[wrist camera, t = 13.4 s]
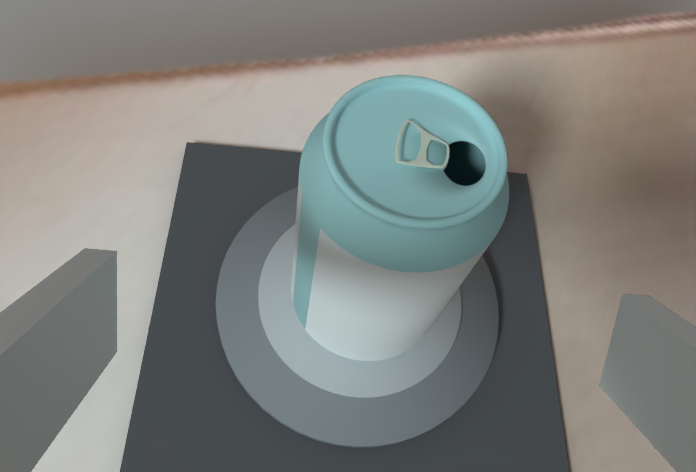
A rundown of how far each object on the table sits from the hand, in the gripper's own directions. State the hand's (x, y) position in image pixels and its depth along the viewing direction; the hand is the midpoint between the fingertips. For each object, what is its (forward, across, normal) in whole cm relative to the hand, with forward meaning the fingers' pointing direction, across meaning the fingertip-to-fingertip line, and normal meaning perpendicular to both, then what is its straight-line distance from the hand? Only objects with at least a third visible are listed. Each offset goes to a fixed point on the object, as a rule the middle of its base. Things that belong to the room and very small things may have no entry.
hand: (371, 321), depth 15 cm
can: (+12, +1, -4) cm, 13 cm away
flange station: (+14, +1, -5) cm, 15 cm away
